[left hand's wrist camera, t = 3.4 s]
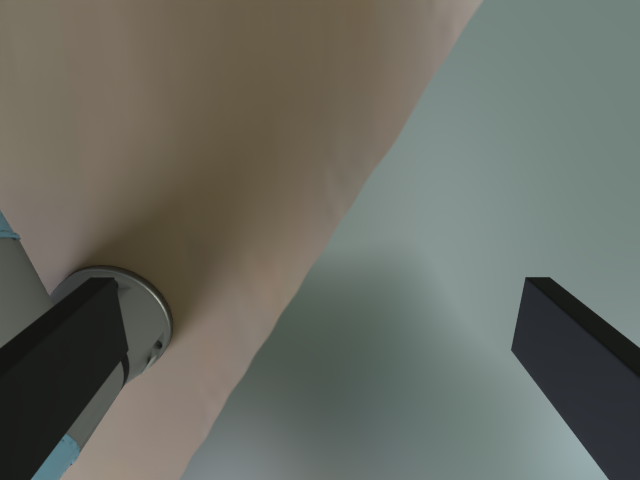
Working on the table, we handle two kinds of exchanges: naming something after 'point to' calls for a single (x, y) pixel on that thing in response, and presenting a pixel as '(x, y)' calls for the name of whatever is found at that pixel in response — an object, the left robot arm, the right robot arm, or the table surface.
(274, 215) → the table surface
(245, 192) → the table surface
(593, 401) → the left robot arm
